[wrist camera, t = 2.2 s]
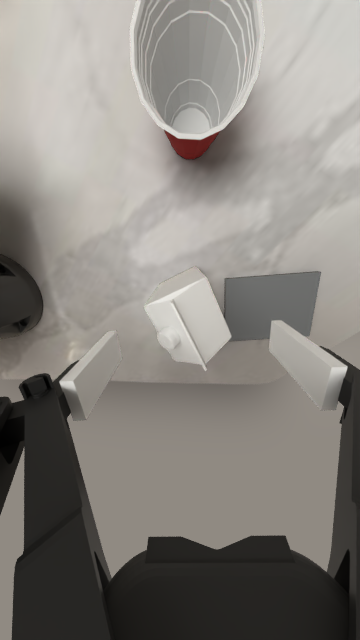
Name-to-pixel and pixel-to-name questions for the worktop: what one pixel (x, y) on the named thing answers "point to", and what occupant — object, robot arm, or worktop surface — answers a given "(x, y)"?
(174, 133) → the plastic cup
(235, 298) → the gray mat
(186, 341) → the milk carton
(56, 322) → the worktop surface
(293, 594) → the robot arm
